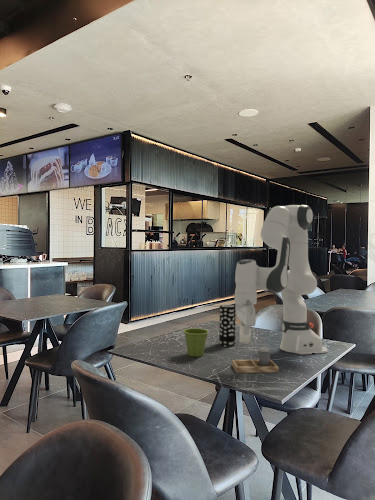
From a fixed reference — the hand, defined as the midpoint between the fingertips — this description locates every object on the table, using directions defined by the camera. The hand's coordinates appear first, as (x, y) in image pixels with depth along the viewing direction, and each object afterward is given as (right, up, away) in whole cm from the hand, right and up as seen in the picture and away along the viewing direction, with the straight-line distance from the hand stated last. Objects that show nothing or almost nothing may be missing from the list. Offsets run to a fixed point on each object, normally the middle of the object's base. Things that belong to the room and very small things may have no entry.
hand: (245, 332), depth 154 cm
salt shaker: (0, -4, 0) cm, 4 cm away
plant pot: (-20, -15, +22) cm, 33 cm away
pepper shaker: (+8, -15, +1) cm, 17 cm away
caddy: (+4, -16, 0) cm, 16 cm away
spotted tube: (-3, -15, +41) cm, 44 cm away
